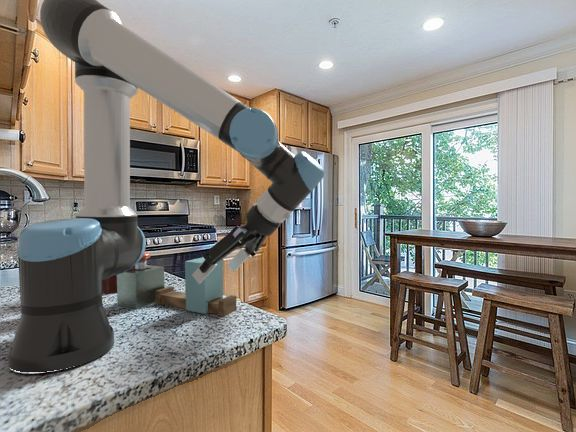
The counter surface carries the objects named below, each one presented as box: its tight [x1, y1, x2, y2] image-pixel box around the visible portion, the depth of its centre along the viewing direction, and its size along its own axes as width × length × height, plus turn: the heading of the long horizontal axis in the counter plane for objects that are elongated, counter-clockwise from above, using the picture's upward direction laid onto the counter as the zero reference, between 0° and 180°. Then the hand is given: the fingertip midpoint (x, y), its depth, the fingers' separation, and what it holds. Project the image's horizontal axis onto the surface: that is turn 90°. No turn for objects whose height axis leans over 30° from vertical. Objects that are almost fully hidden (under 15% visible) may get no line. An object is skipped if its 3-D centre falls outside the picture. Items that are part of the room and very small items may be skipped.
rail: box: [154, 286, 237, 317], centre depth 80 cm, size 22×5×4 cm, turn 65°
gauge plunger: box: [135, 252, 151, 271], centre depth 84 cm, size 5×5×6 cm
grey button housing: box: [116, 264, 165, 310], centre depth 84 cm, size 7×9×9 cm
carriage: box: [184, 256, 224, 315], centre depth 79 cm, size 6×7×12 cm
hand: (215, 273), depth 78 cm, fingers open, 13 cm apart
